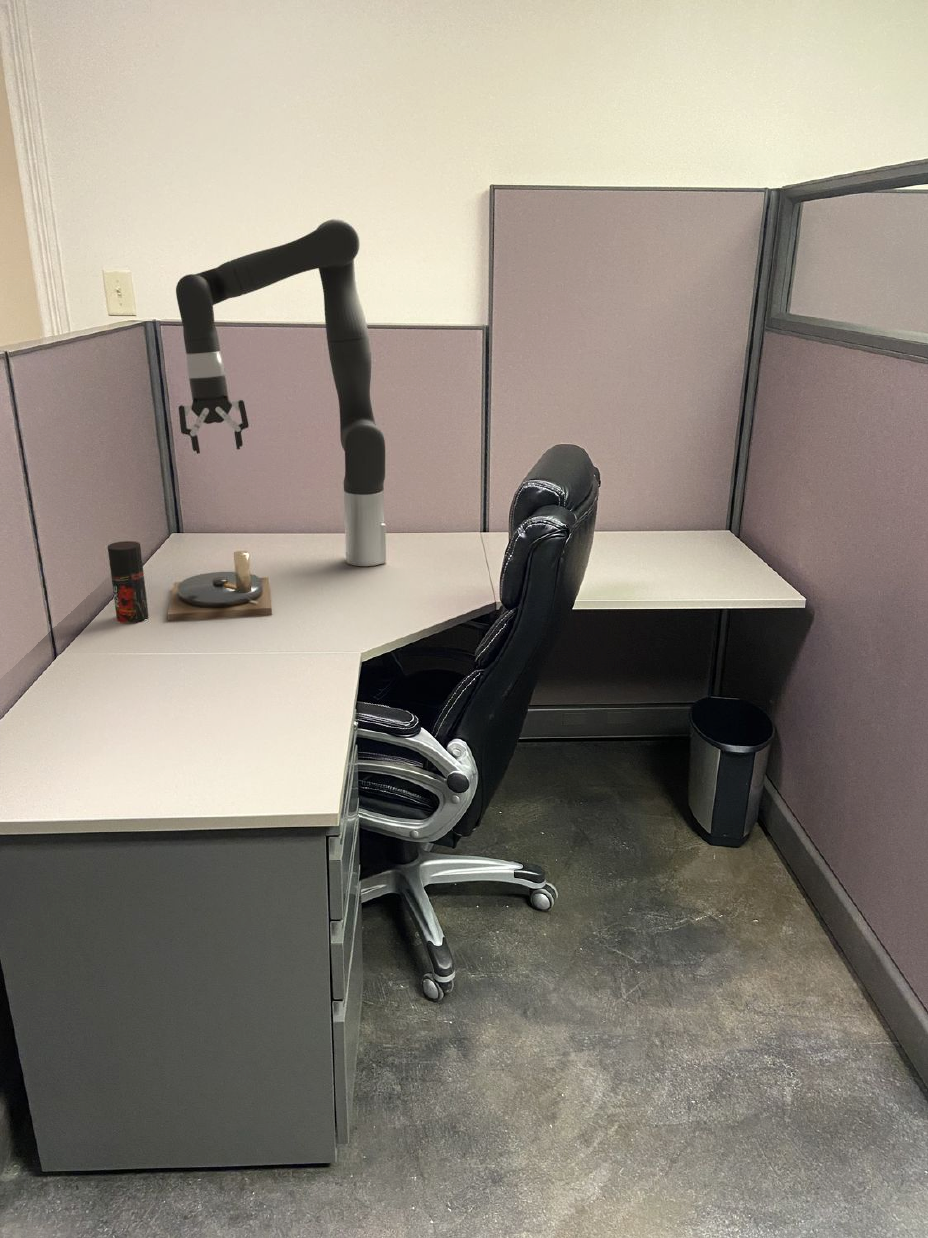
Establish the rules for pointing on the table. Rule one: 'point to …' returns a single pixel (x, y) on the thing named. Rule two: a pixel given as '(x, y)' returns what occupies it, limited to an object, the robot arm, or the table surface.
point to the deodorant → (128, 582)
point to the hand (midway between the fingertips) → (218, 450)
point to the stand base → (191, 612)
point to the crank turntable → (222, 586)
